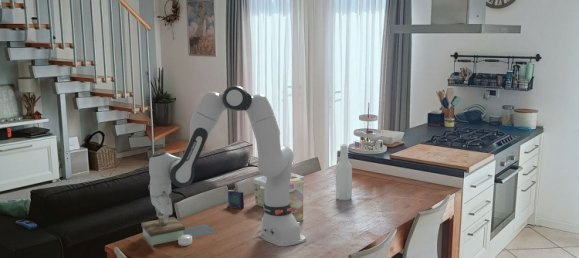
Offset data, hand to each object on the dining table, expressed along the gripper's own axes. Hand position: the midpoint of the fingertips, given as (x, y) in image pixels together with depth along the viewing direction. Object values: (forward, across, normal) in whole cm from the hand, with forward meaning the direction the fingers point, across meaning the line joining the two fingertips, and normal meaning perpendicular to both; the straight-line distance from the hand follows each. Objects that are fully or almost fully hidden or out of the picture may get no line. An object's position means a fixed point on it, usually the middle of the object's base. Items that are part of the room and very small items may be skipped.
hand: (162, 219), depth 229 cm
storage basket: (+9, +18, -68) cm, 71 cm away
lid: (+4, 0, 0) cm, 4 cm away
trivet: (+9, -1, -16) cm, 18 cm away
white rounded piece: (+9, -12, -6) cm, 16 cm away
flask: (+9, +24, -46) cm, 53 cm away
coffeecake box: (+9, -7, -59) cm, 60 cm away
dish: (+9, 0, 0) cm, 9 cm away
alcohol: (+9, +7, -103) cm, 104 cm away
